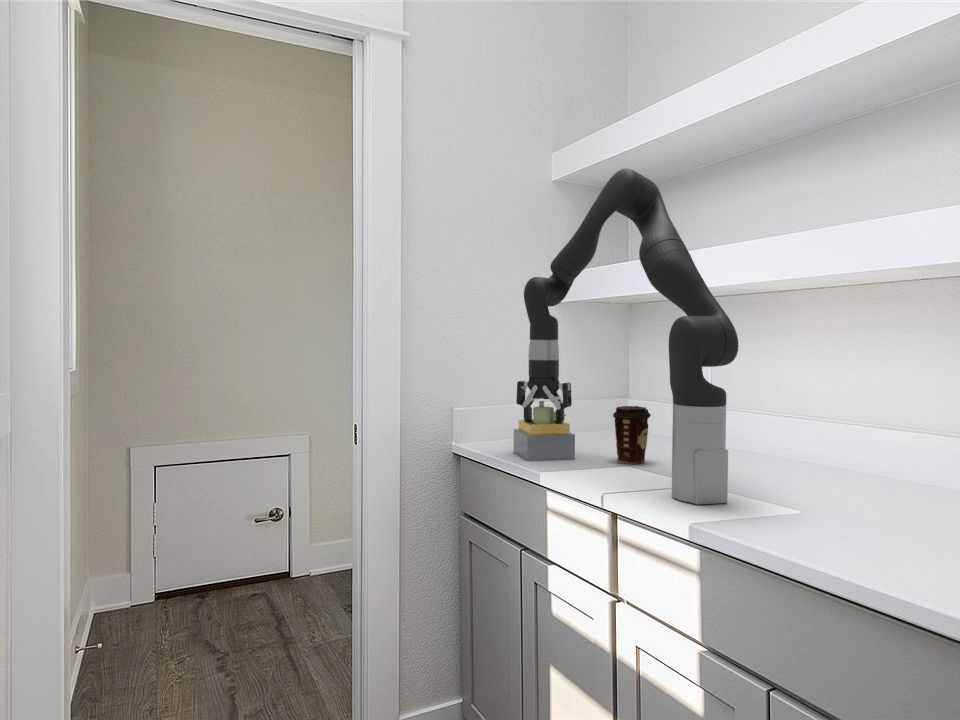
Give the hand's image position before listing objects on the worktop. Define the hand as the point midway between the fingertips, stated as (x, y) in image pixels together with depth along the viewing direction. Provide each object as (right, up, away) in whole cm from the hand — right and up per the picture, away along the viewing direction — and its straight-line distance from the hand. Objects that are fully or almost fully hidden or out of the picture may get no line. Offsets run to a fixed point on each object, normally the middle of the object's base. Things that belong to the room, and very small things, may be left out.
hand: (543, 423), depth 159 cm
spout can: (0, -5, 0) cm, 5 cm away
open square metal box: (0, -8, 0) cm, 8 cm away
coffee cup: (+20, -9, -7) cm, 23 cm away
